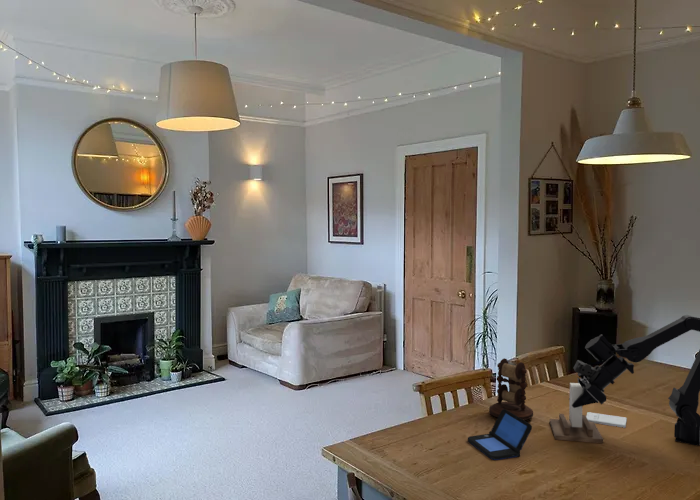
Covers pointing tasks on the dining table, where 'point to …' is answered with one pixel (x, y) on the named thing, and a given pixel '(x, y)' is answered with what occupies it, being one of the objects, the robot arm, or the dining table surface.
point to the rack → (575, 430)
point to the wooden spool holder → (511, 391)
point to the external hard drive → (606, 419)
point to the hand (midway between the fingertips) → (571, 403)
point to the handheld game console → (503, 437)
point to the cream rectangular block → (576, 413)
